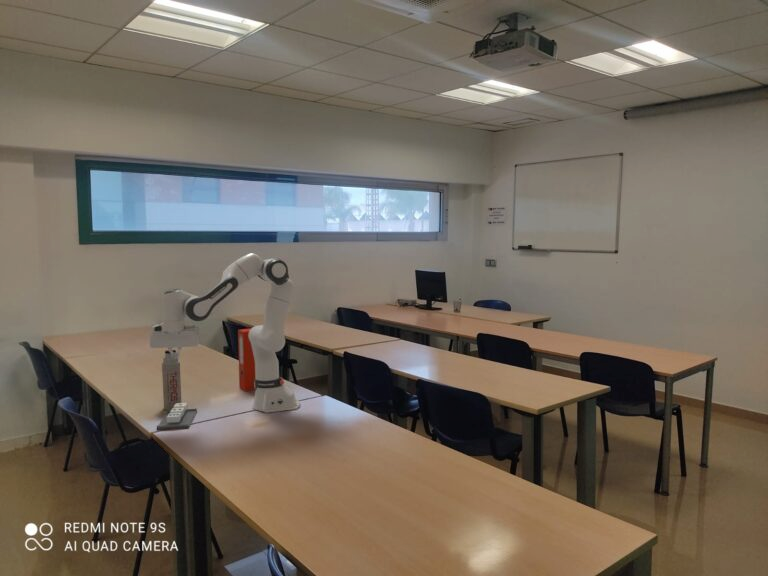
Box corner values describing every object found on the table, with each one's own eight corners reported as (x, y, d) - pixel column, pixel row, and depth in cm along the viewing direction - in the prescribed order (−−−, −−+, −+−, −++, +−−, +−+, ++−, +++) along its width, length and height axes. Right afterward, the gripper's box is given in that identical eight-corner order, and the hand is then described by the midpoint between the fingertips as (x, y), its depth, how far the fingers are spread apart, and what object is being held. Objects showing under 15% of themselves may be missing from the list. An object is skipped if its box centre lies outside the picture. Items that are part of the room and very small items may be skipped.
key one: (187, 407, 249) (187, 402, 248) (185, 411, 244) (185, 405, 243) (176, 408, 248) (175, 403, 247) (173, 411, 243) (173, 406, 243)
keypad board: (196, 412, 250) (196, 408, 250) (188, 428, 230) (188, 424, 230) (167, 413, 248) (167, 409, 248) (156, 430, 228) (156, 426, 228)
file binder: (275, 385, 293) (273, 328, 290) (244, 391, 283) (243, 331, 280) (269, 382, 300) (267, 326, 297) (239, 387, 290) (237, 329, 287)
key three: (181, 417, 235) (181, 412, 235) (179, 421, 230) (178, 416, 230) (169, 418, 234) (169, 413, 234) (166, 422, 229) (166, 416, 229)
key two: (184, 412, 242) (184, 407, 241) (182, 416, 237) (182, 410, 237) (172, 413, 241) (172, 407, 241) (170, 417, 236) (170, 411, 236)
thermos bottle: (180, 409, 254) (178, 351, 251) (162, 411, 252) (160, 352, 249) (182, 404, 262) (180, 348, 259) (165, 405, 259) (162, 349, 257)
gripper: (199, 324, 240) (200, 354, 241) (151, 325, 236) (153, 356, 237) (197, 326, 233) (198, 357, 235) (147, 328, 230) (149, 359, 231)
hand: (175, 356), depth 236 cm, fingers closed
